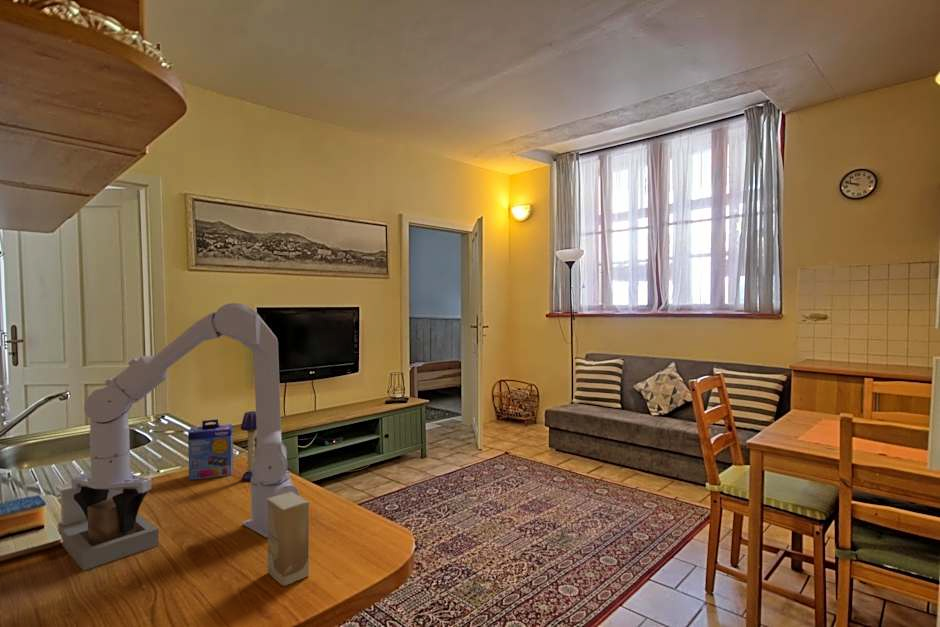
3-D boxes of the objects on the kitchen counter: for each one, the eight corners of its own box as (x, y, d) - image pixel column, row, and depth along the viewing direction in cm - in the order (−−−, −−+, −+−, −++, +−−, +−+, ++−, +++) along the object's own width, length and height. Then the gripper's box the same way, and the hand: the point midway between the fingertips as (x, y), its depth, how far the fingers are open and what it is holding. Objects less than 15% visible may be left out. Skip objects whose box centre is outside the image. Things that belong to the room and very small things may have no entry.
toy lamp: (265, 475, 127) (264, 410, 126) (256, 482, 122) (254, 414, 122) (247, 475, 127) (246, 410, 127) (237, 482, 123) (236, 414, 122)
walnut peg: (136, 537, 91) (135, 499, 91) (108, 550, 87) (107, 510, 86) (116, 533, 93) (115, 496, 93) (88, 546, 88) (87, 506, 88)
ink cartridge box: (188, 481, 123) (186, 423, 123) (191, 474, 129) (189, 418, 128) (232, 475, 127) (231, 419, 127) (233, 469, 132) (232, 414, 132)
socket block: (158, 545, 90) (157, 490, 90) (83, 570, 82) (81, 510, 82) (126, 519, 102) (125, 470, 101) (57, 539, 93) (56, 486, 93)
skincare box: (266, 572, 81) (265, 497, 81) (292, 562, 84) (291, 490, 84) (284, 588, 76) (282, 508, 76) (310, 577, 79) (309, 500, 79)
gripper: (163, 448, 92) (165, 522, 92) (95, 446, 95) (97, 517, 95) (132, 460, 85) (134, 540, 86) (59, 457, 88) (61, 534, 88)
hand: (112, 529), depth 90 cm, fingers closed on walnut peg, 6 cm apart
